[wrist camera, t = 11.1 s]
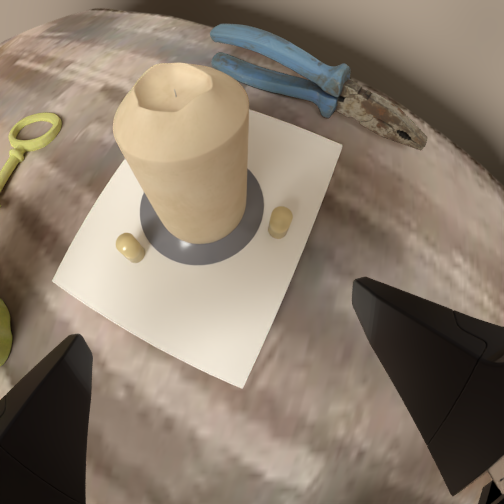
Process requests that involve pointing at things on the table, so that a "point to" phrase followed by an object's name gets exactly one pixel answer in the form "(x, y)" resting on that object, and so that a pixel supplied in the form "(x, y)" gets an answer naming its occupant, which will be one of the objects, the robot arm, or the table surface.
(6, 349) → the plant pot
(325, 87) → the pliers
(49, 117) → the key
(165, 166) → the candle
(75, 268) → the stud tile
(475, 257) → the table surface
